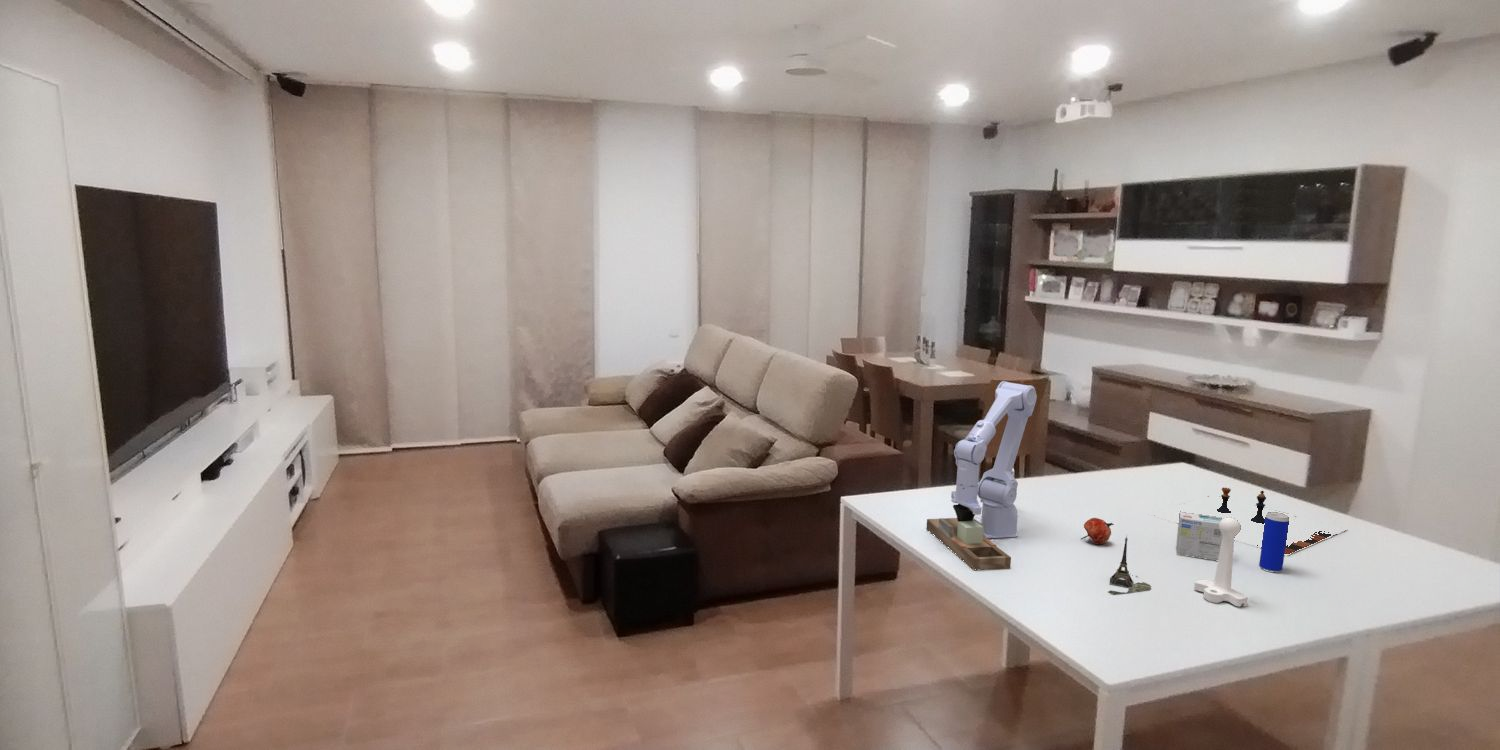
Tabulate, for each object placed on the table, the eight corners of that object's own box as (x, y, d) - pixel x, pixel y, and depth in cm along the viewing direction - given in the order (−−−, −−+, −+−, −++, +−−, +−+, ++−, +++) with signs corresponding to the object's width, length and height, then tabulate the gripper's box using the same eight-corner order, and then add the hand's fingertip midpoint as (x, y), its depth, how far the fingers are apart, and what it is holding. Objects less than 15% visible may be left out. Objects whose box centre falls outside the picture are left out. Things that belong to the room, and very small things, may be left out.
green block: (973, 536, 223) (975, 520, 222) (982, 543, 218) (983, 527, 217) (956, 537, 222) (958, 521, 221) (964, 543, 217) (966, 527, 216)
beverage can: (1278, 567, 214) (1286, 512, 212) (1284, 574, 210) (1292, 519, 207) (1256, 564, 216) (1263, 510, 214) (1261, 571, 211) (1269, 516, 209)
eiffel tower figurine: (1112, 597, 194) (1118, 544, 192) (1083, 581, 204) (1088, 530, 202) (1162, 591, 199) (1168, 539, 197) (1130, 574, 208) (1136, 525, 206)
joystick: (1249, 604, 191) (1260, 523, 188) (1231, 611, 187) (1241, 528, 184) (1203, 586, 201) (1213, 509, 197) (1185, 592, 197) (1194, 513, 194)
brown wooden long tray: (958, 527, 239) (959, 507, 238) (1010, 568, 209) (1012, 546, 208) (926, 528, 237) (927, 509, 236) (974, 570, 207) (975, 548, 206)
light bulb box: (1218, 554, 223) (1223, 516, 221) (1220, 562, 217) (1225, 523, 215) (1174, 547, 227) (1178, 510, 226) (1175, 555, 221) (1180, 517, 220)
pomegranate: (1082, 552, 228) (1114, 538, 222) (1069, 528, 230) (1100, 513, 225) (1091, 548, 233) (1123, 534, 228) (1078, 524, 236) (1109, 510, 230)
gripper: (942, 476, 228) (939, 522, 230) (965, 492, 214) (961, 541, 216) (965, 475, 229) (962, 521, 231) (990, 491, 215) (986, 540, 217)
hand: (963, 531), depth 224 cm, fingers closed
